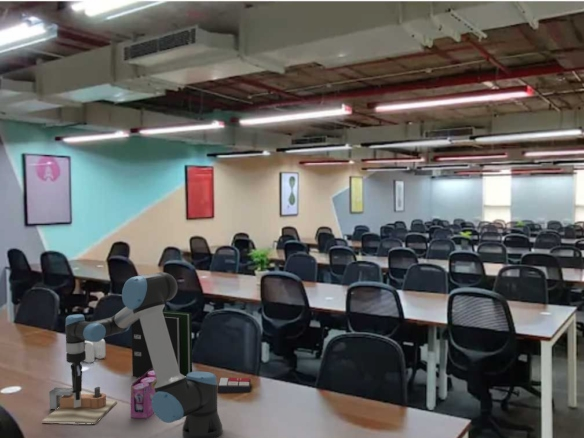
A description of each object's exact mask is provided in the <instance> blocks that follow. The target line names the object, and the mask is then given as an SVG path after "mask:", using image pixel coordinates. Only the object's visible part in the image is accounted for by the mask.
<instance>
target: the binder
mask: <svg viewBox="0 0 584 438" xmlns="http://www.w3.org/2000/svg"><path fill="white" fill-rule="evenodd" d="M162 312H163V315H164V319H165V322H166V326H167V329H168V333H169V336H170V340H171V343H172V347H173V350H174V354H175V357H176V361H177V364H178V368H179V371H180V373H181V374H182V375H184V376H187V374H188V373H190V372H193V334H192V333H193V332H192V329H193V328H192V327H193V326H192V312H183V311H172V310H164V309H163V311H162ZM131 360H132V369H131V370H132V371H131V372H132V377H133V378H140V377H142V376H143V375H144V374H145V373H146V372H147V371H148V370H150V369H153V365H152V362H151V358H150V354H149V351H148V347H147V344H146V340H145V336H144V333H143V329H142V326H141V322H140V319H138V320H137V321H136V322H134V323H133V324H131Z"/></svg>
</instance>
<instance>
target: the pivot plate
mask: <svg viewBox="0 0 584 438" xmlns="http://www.w3.org/2000/svg"><path fill="white" fill-rule="evenodd" d="M93 390H94V394H95V398H98V397H100V393H101V387H100V386H97V387H94V389H93ZM117 403H118V402H117V400H106V405H105V406H104V407H100V408H90V407H77V408H60V407H59V408H58V409H56V410H53V411H52V412H51V413H49V415H47V416H46V417H44V419H42V420H41V422H42V421H47V422H48V421H49V422H75V423H85V424H87V423H91V424H92V423H93V424H95V423H96V422H97V421H98V420H99V419H100V418H101V419H102V418H104V416H106V414H107V413H109V412H110V411H111V410H112V408H115V406H116V405H117ZM101 419H100V420H101ZM100 420H99V421H100ZM99 421H98V422H99ZM98 422H97V423H98ZM97 423H96V424H97ZM96 424H95V425H96Z"/></svg>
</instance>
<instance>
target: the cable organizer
mask: <svg viewBox="0 0 584 438" xmlns="http://www.w3.org/2000/svg"><path fill="white" fill-rule="evenodd" d="M85 342H86V343H87V344H86V345H85V350H84V351H85V353H86V359H85V360H84V361H81V362H80V363H82V362H85V363H89V364H91V363H93V362H94V361H95V358H96V359H99V360H101V359H103V358H105V357H106V341H105V339H104V338H103V339H102V340H101V341H99V342H91V341H87V340H85Z"/></svg>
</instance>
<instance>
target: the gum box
mask: <svg viewBox="0 0 584 438" xmlns="http://www.w3.org/2000/svg"><path fill="white" fill-rule="evenodd" d="M156 383H157V380H156V376H155V372H154V369H150V370H148V371H147V372H146V373H145V374H144V375H143V376H142V377H138V379H136V380H135V382H133V383H132V384H130V418H135V419H149V418H150V417H151V416H152V415H153V414H155V413H154V411H153V409H152V403H151V402H152V397H153V395H154V394H155V393H156V392H155V389H154V387H155V385H156Z"/></svg>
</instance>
